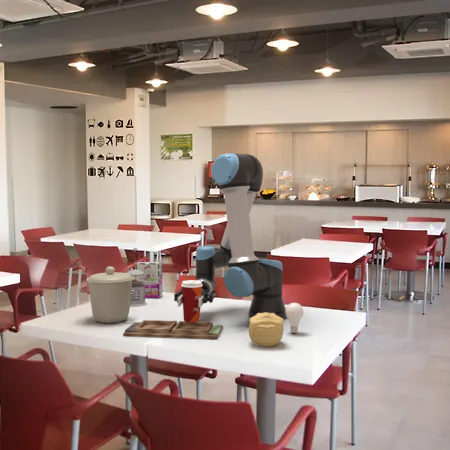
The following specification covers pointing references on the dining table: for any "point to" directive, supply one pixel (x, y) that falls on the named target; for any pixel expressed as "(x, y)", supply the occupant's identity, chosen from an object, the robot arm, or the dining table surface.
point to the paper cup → (191, 300)
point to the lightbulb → (294, 316)
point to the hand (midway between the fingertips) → (189, 302)
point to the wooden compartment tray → (174, 329)
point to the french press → (138, 288)
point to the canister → (110, 295)
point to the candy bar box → (151, 278)
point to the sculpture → (266, 329)
